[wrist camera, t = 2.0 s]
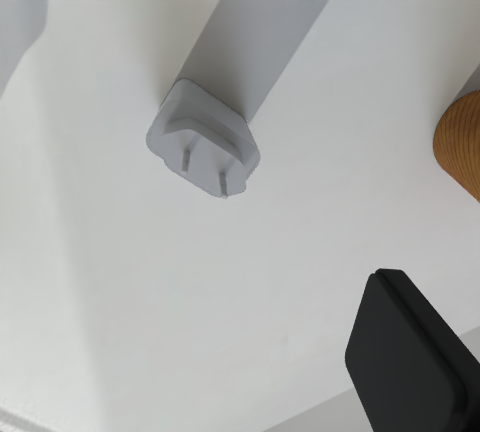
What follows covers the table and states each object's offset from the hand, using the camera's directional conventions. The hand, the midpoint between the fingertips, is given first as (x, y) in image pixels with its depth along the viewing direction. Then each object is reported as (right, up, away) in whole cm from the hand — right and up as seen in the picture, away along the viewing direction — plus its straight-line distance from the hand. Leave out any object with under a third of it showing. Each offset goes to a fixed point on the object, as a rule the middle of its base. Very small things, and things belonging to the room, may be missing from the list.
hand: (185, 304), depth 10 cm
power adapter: (-1, +9, +16) cm, 19 cm away
